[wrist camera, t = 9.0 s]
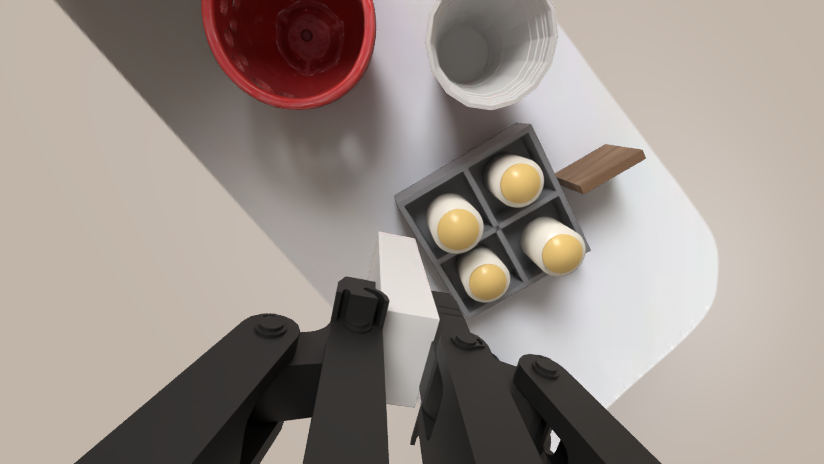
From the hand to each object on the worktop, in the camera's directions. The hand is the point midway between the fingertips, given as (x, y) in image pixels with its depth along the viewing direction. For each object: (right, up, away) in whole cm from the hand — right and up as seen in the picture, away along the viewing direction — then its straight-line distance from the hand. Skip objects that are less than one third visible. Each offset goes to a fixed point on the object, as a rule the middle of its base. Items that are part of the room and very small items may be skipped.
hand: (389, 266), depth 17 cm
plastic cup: (+6, +20, +27) cm, 35 cm away
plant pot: (-9, +21, +26) cm, 34 cm away
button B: (+11, +8, +30) cm, 33 cm away
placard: (+21, +9, +32) cm, 39 cm away
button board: (+10, +3, +32) cm, 34 cm away
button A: (+5, +3, +28) cm, 28 cm away
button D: (+15, +1, +29) cm, 33 cm away
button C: (+9, -2, +32) cm, 34 cm away
